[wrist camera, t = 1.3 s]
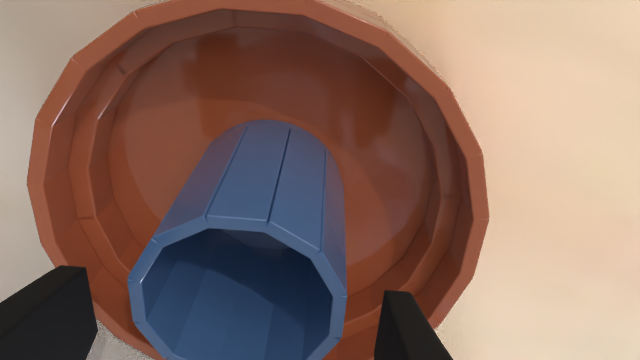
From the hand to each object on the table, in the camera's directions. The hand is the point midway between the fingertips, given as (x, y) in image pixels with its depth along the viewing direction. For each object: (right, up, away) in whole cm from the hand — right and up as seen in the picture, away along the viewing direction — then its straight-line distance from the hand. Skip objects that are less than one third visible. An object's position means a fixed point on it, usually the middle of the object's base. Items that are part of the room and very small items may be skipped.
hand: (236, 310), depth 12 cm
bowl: (0, +3, +6) cm, 7 cm away
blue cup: (0, +3, +6) cm, 7 cm away
